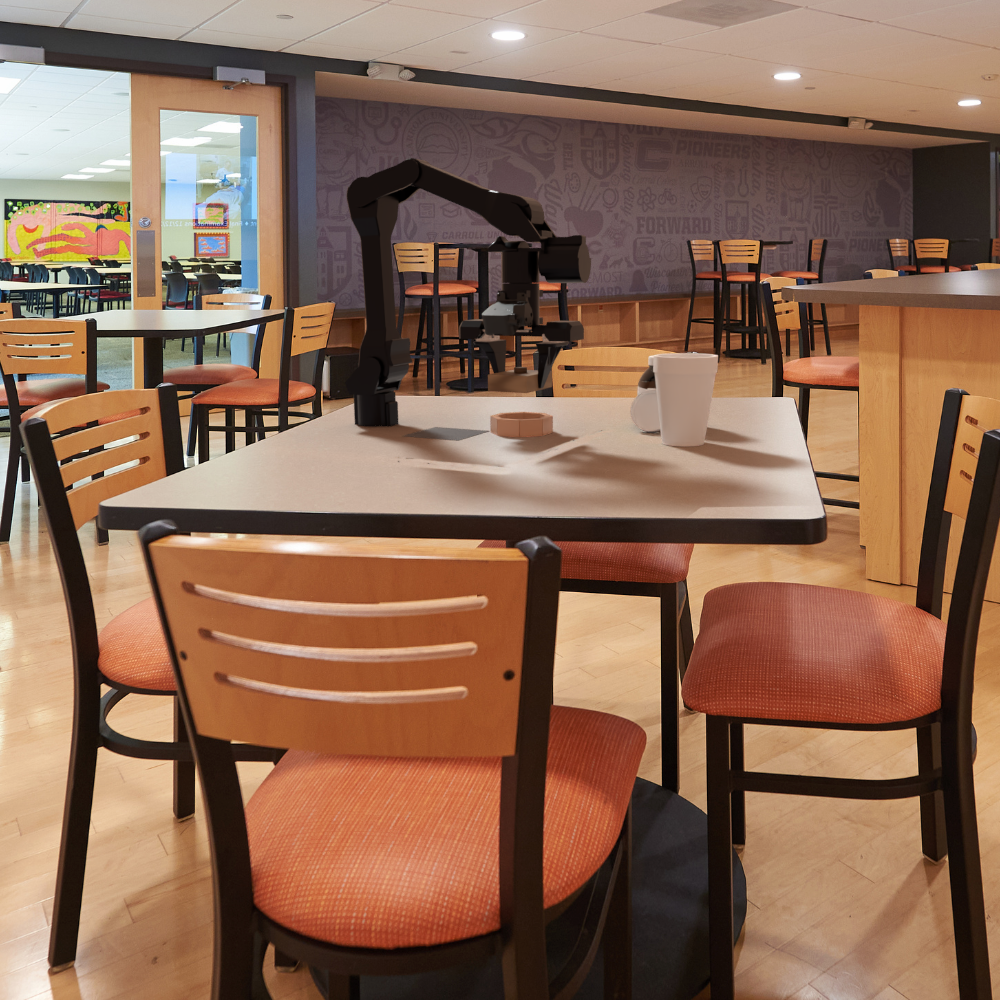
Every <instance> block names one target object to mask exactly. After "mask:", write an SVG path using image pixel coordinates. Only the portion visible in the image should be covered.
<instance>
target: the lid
mask: <svg viewBox="0 0 1000 1000" xmlns="http://www.w3.org/2000/svg"><path fill="white" fill-rule="evenodd" d="M552 387H553V371H552V370H551V371H550V373H549V375H548V378H547V380H546V383H545V385H544V387H543V388H541V389H540V388H538V369H537V370H536V369H534V370H533V369H528V367H526V366H515V367H513V369H511V370H510V369H509V370H505V371H504V372H499V373H494V372H493V373H489V374H487V391H488V392H496V393H497V392H500V393H512V394H513V393H515V394H516V393H517V394H529V393H533V392H537V391H542V390H545V389H546V390H547V389H549V388H552Z"/></svg>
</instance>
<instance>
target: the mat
mask: <svg viewBox="0 0 1000 1000" xmlns="http://www.w3.org/2000/svg"><path fill="white" fill-rule="evenodd" d="M489 432H490V430H484V429H482V430H481V429H470V428H469V429H468V428H453V427H443V426H434V427H430V428H428V429H427V428H426V429H424V430H419V431H416V432H415V431H414V432H412V433H407V434H404V435H402V437H407V438H419V439H432V440H433V439H434V440H445V441H446V440H447V441H462V440H465V439H468V438H471V437H475V436H480V435H482V434H485V433H489Z"/></svg>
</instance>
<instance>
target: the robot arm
mask: <svg viewBox="0 0 1000 1000" xmlns="http://www.w3.org/2000/svg"><path fill="white" fill-rule="evenodd" d="M420 190H423V191H425V192H427V193H430V194H432V195H434V196H437V197H439V198H442V199H444V200H446V201H449V202H450V203H453V204H455V205H458V206H460V207H463V208H465V209H466V210H469V211H471V212H474V213H475V214H477V215H479V216H480V217H481V218H483V220H485V221H486V222H487V223H488V224H490V225H491V226H493V227H494V228H495V229H496V230H498V231H500V232H501V233H503V234H504V235H506V236H510V237H511V236H512V237H519V238H520V239H522V240H508V238H507V237H506V236H504V235H503V236H501V235H498V236H497V237H496V239H495V241H493V243H491V244H490V245H489V246H487V251H488V252H489V253H499V254H500V253H501V260H500V261H501V262H500V263H501V264H500V265H501V267H500V268H501V269H500V270H501V272H500V273H501V290H497V293H496V301H495V303H493V304H491V305H490V306H488V308H486V309H485V310H484V311H483V312H482V313H481V317H482V318H481V319H479V318H477V319H475V318H474V319H465V320H464V319H463V320H462V321H461V322H460V325H459V327H458V338H459V339H461V340H475V341H473V344H474V346H478V347H480V348H481V350H482V351H484V353H485V355H486V357H487V359H488V361H489V364H490V367H491V370H492V372H493V374H494V373H499V372H504V371H506V362H507V361H506V360H507V359H506V358H507V339H500V338H501V336H502V337H541V339H542V342H537V343H535V347H536V349H537V352H538V361H537V362H538V364H537V370H538V388H540V389H541V388H543V387H544V385H545V383H546V380H547V378H548V375H549V373H550V371H552V368H553V365H554V363H555V362H556V359H557V358H558V355H559V354H560V352H561V350H562V348H563V347H564V346H568V345H569V343H570V342H576V341H583V340H585V337H584V336H585V334H584V333H585V328H584V325H583V323H582V322H581V321H580V320H554V321H552V320H551V321H547V322H546V323H545V324H544V317H542V316H540V298H542V297H544V289H540V276H541V277H544V279H545V282H547V283H548V284H585V283H587V282H588V281H589V279H590V275H591V270H592V258H590V251H589V250H590V249H589V247H588V245H587V237H586V236H585V235H584V234H583V235H582V234H576V235H574V234H573V235H569V236H557V235H556V234H555V233H554V231H553V229H552V228H551V227H550V225H549V223H548V222H547V221H546V220H545V211H544V208H543V206H542V204H541V202H540V201H538V200H537V199H536V198H532V197H526V196H523V195H517V194H514V193H513V194H512V193H507V192H502V191H497V190H492V189H490V188H487V187H485V186H482V185H481V184H477V183H475V182H473V181H470V180H468V179H466V178H463V177H460V176H458V175H456V174H454V173H451V172H449V171H447V170H444V169H442V168H439V167H437V166H434V165H432V164H430V163H429V162H428V161H427V160H424V159H419V158H414V157H410V158H409V157H408V158H406V159H405V160H403V161H401V162H399V163H397V164H396V165H394V166H391V167H387V168H385V169H383V170H380V171H378V172H375V173H373V174H371V175H369V176H359V177H356V178H355V179H353V181H352V182H351V183H350V185H349V186H348V187H347V190H346V202H347V208H348V211H349V216H350V219H351V222H352V224H353V226H354V227H355V229H356V231H357V234H358V235H359V239H360V250H361V251H360V252H361V262H362V263H361V265H362V283H363V292H364V293H363V295H364V308H365V325H366V329H365V333H364V335H363V338H362V341H361V343H360V347H359V354H358V355H359V356H358V366H357V368H356V369H355V370H354V371H353V372H352V373H351V374H350V376H349V377H348V378H347V380H345V382H344V384H345V386H346V390H347V392H348V394H349V395H351V396H352V395H353V410H354V411H353V412H354V413H353V414H354V415H353V417H354V425H356V426H357V425H358V426H360V427H368V428H369V427H370V428H373V427H375V428H377V427H393V426H398V425H399V405H398V404H399V403H398V401H397V399H396V392H395V391H399V390H400V388H401V384H402V381H403V379H404V378H405V376H406V375H407V374H408V373H409V368H410V364H412V363H413V360H412V357H411V339H410V337H402V336H401V334H400V332H399V329H398V326H397V319H396V317H397V316H396V301H395V286H394V285H395V284H394V268H393V254H392V253H393V252H392V234H393V232H394V228H395V227H396V223H397V220H398V218H399V217H398V216H399V215H398V214H399V205H401V204H402V203H404V202H406V201H408V200H409V199H411V198H412V197H413V196H414V195H415V194H416V193H417V192H419V191H420ZM529 243H534V244H535V243H536V244H537V243H538V244H540V247H530V246H529ZM526 327H527V328H526Z"/></svg>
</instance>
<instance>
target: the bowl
mask: <svg viewBox="0 0 1000 1000" xmlns="http://www.w3.org/2000/svg"><path fill="white" fill-rule="evenodd" d="M489 416H490V417H489V419H490V430H489V431H490V433H491V434H494V435H496V436H497V437H499V436H500V437H511V438H512V437H513V438H527V437H528V438H529V437H543V436H546V435H549V434H551V433H552V434H553V433H554V432H553V431H554V429H553V428H554V420H553V419H554V418H553V417H554V415H551V414H548V413H547V412H546V413H545V412H535V411H513V412H510V411H509V412H499V413H495V414H493V415H489Z"/></svg>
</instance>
